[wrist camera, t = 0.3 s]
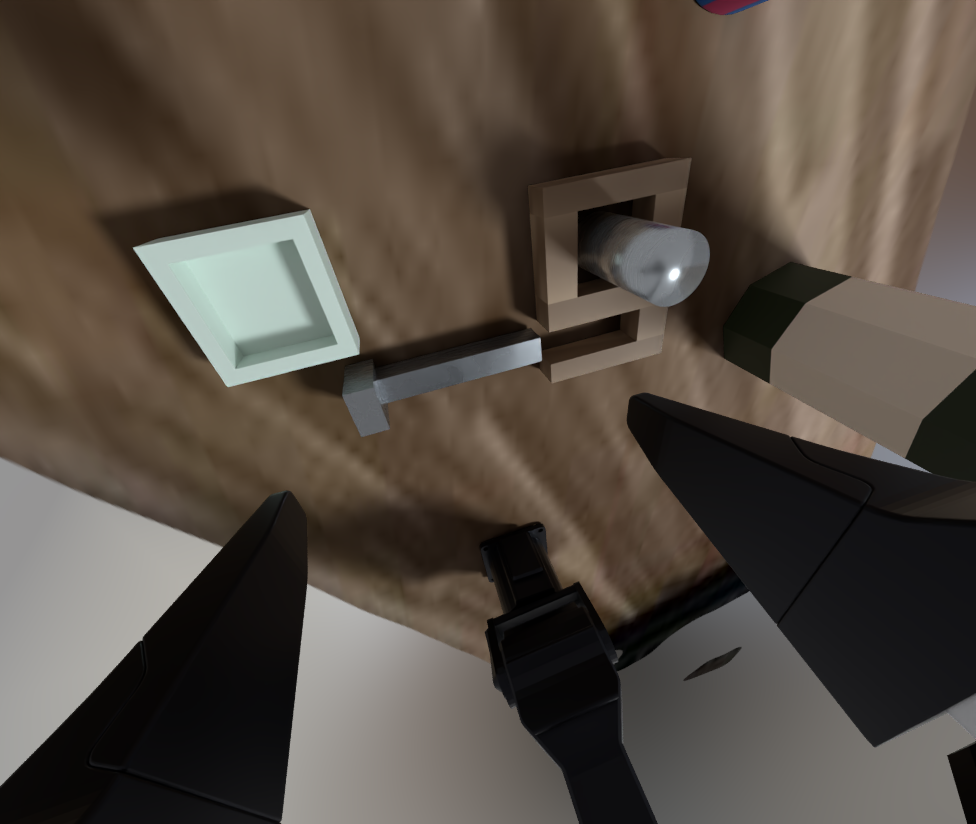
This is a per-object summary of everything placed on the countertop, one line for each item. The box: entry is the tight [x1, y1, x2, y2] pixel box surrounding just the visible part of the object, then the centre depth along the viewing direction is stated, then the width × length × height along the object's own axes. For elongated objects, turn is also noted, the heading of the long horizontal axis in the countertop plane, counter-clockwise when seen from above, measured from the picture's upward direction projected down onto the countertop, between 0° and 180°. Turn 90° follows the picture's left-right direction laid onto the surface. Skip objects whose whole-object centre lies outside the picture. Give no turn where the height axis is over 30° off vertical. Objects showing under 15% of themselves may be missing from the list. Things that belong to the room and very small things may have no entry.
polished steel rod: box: [578, 211, 710, 307], centre depth 19 cm, size 3×3×7 cm
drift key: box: [342, 328, 542, 437], centre depth 22 cm, size 3×12×3 cm, turn 98°
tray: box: [133, 209, 360, 387], centre depth 18 cm, size 7×7×2 cm
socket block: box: [528, 158, 692, 383], centre depth 22 cm, size 11×8×2 cm
